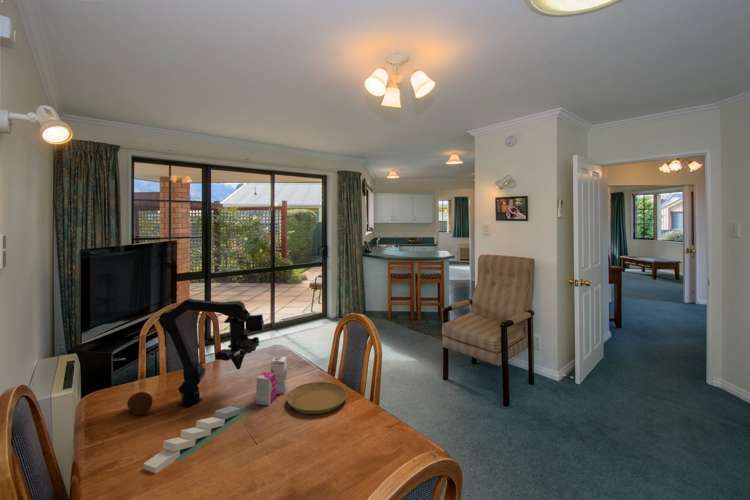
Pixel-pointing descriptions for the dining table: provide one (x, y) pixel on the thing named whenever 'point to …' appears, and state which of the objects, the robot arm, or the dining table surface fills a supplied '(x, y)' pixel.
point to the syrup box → (280, 373)
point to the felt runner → (212, 434)
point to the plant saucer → (316, 397)
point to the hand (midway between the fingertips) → (238, 369)
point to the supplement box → (266, 389)
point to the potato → (140, 403)
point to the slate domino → (227, 412)
